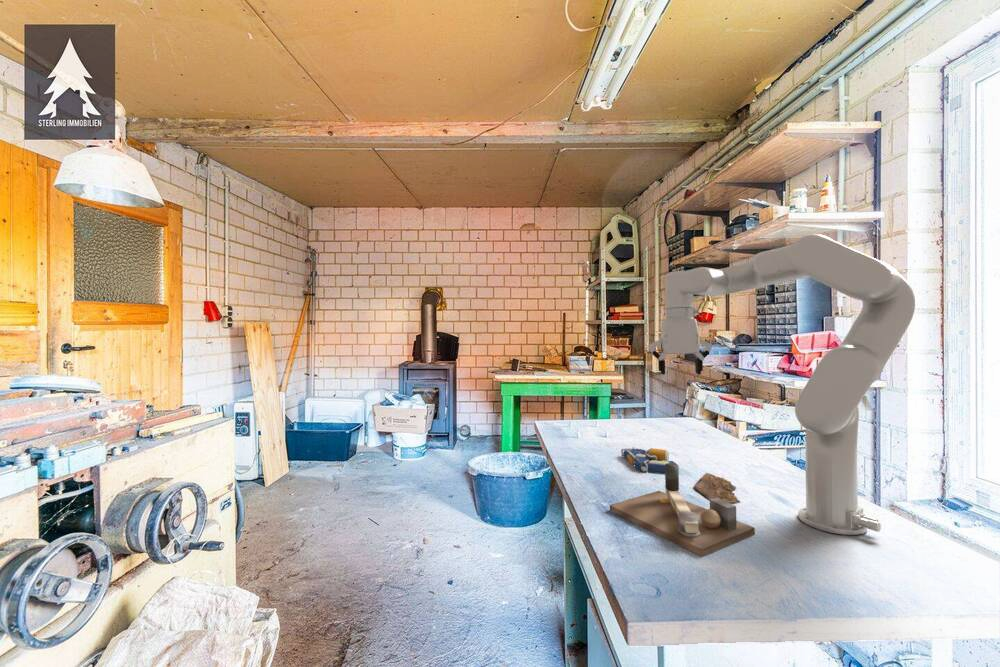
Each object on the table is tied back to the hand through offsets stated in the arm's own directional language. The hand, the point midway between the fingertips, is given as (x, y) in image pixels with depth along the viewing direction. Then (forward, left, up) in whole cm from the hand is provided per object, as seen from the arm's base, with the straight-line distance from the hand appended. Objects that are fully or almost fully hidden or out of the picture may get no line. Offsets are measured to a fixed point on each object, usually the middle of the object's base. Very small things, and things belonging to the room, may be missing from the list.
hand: (680, 373), depth 126 cm
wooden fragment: (-6, -6, -33) cm, 34 cm away
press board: (-15, +21, -32) cm, 41 cm away
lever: (-16, +21, -30) cm, 40 cm away
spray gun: (+19, -8, -33) cm, 39 cm away
